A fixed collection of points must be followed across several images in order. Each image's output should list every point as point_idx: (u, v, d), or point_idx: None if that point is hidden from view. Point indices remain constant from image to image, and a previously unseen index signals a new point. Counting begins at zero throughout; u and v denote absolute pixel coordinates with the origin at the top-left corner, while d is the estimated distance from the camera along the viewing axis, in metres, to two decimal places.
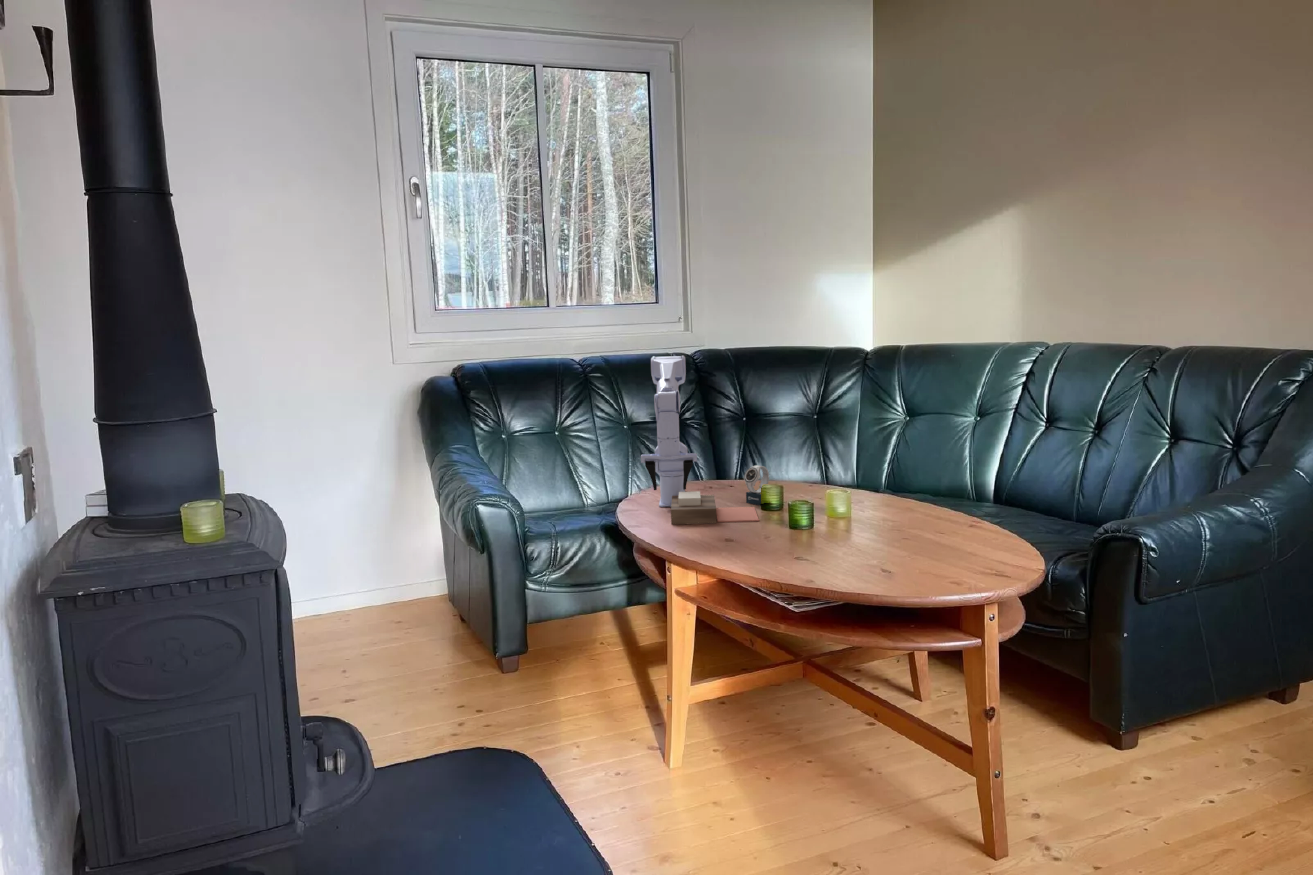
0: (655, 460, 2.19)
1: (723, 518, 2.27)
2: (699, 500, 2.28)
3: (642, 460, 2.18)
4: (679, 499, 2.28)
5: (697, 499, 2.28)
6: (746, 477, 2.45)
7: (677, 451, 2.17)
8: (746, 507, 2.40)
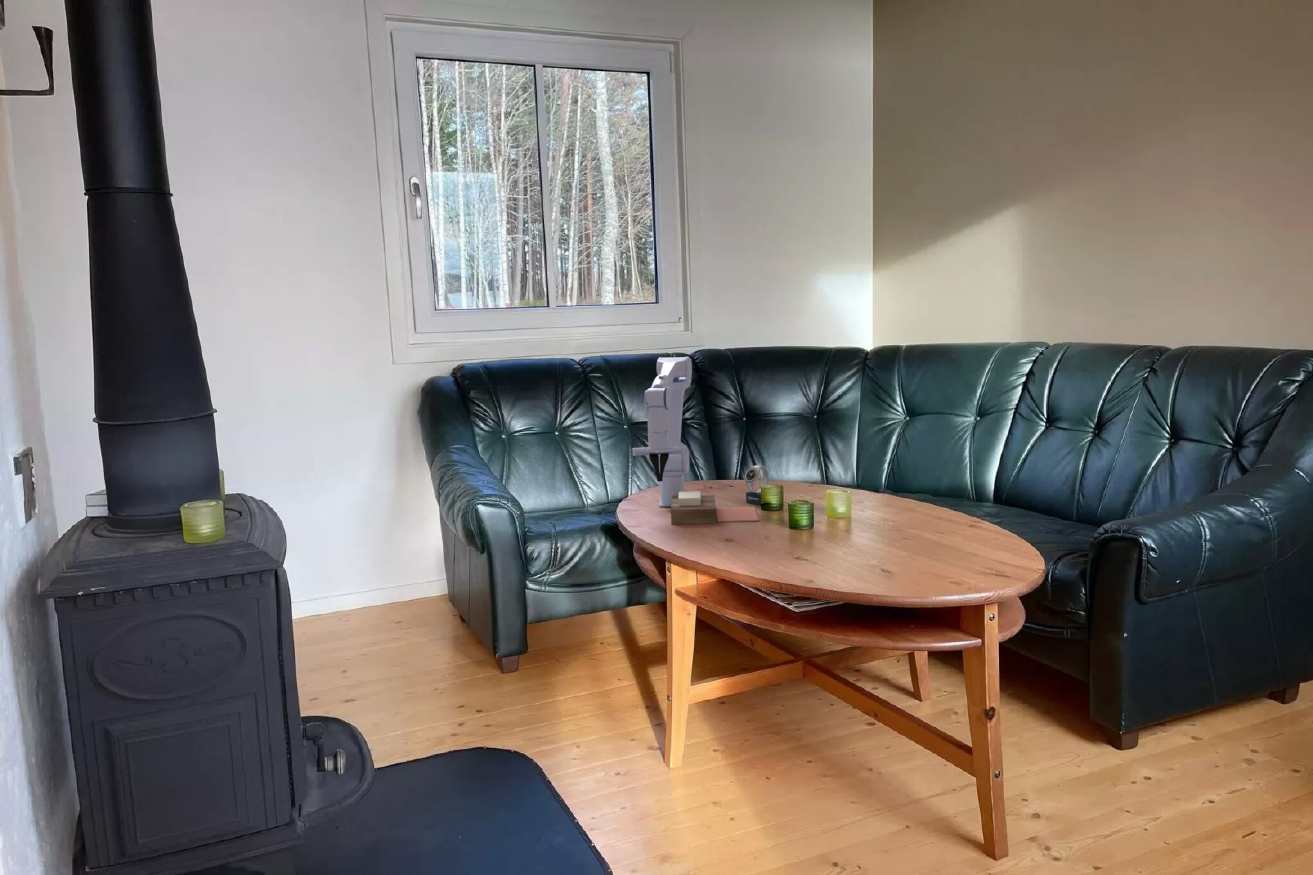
0: (646, 453, 2.31)
1: (723, 518, 2.27)
2: (699, 500, 2.28)
3: (633, 453, 2.30)
4: (679, 499, 2.28)
5: (697, 499, 2.28)
6: (746, 477, 2.45)
7: (667, 444, 2.29)
8: (746, 507, 2.40)
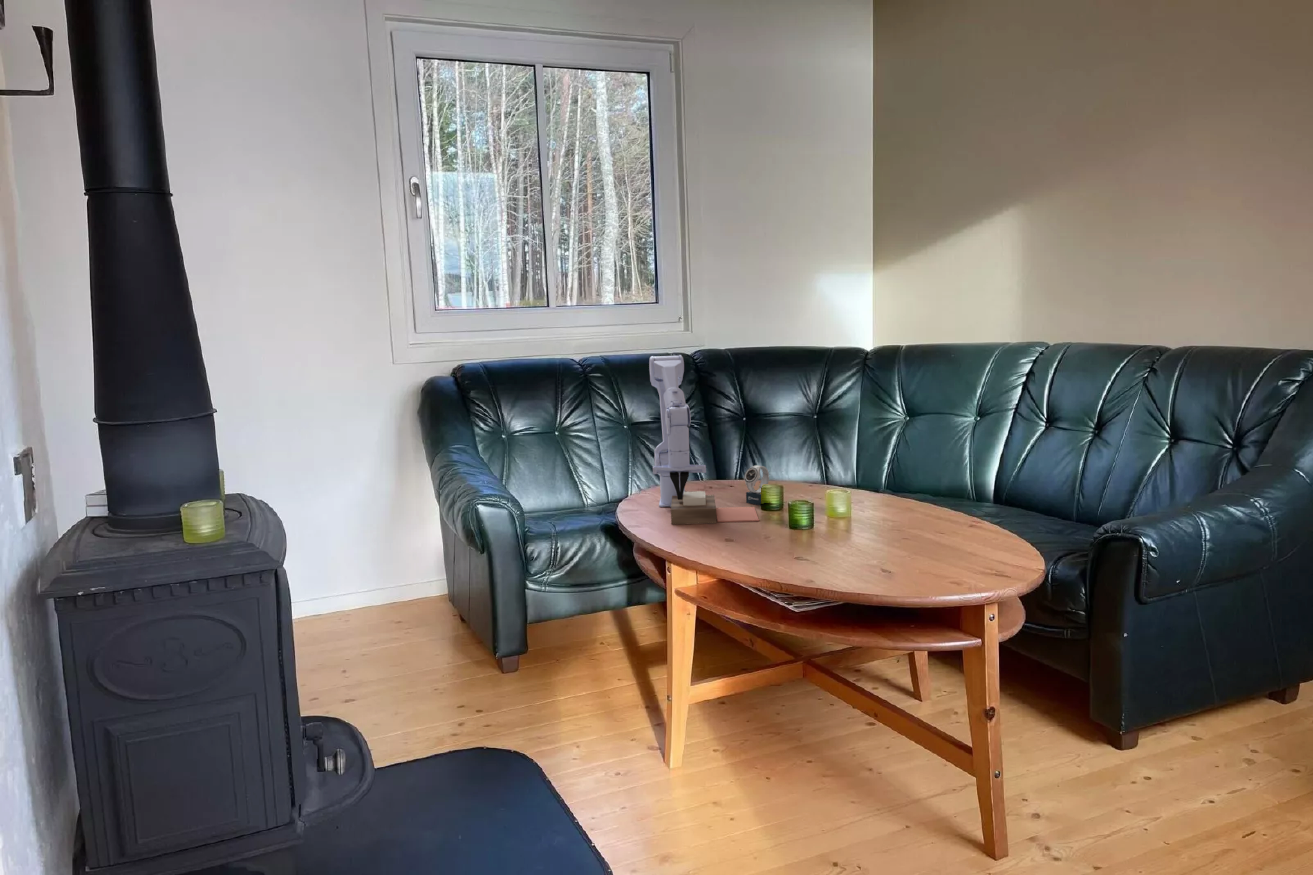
0: (666, 471, 2.31)
1: (723, 518, 2.27)
2: (704, 500, 2.27)
3: (654, 471, 2.31)
4: (684, 499, 2.28)
5: (702, 499, 2.27)
6: (746, 477, 2.45)
7: (687, 463, 2.29)
8: (746, 507, 2.40)
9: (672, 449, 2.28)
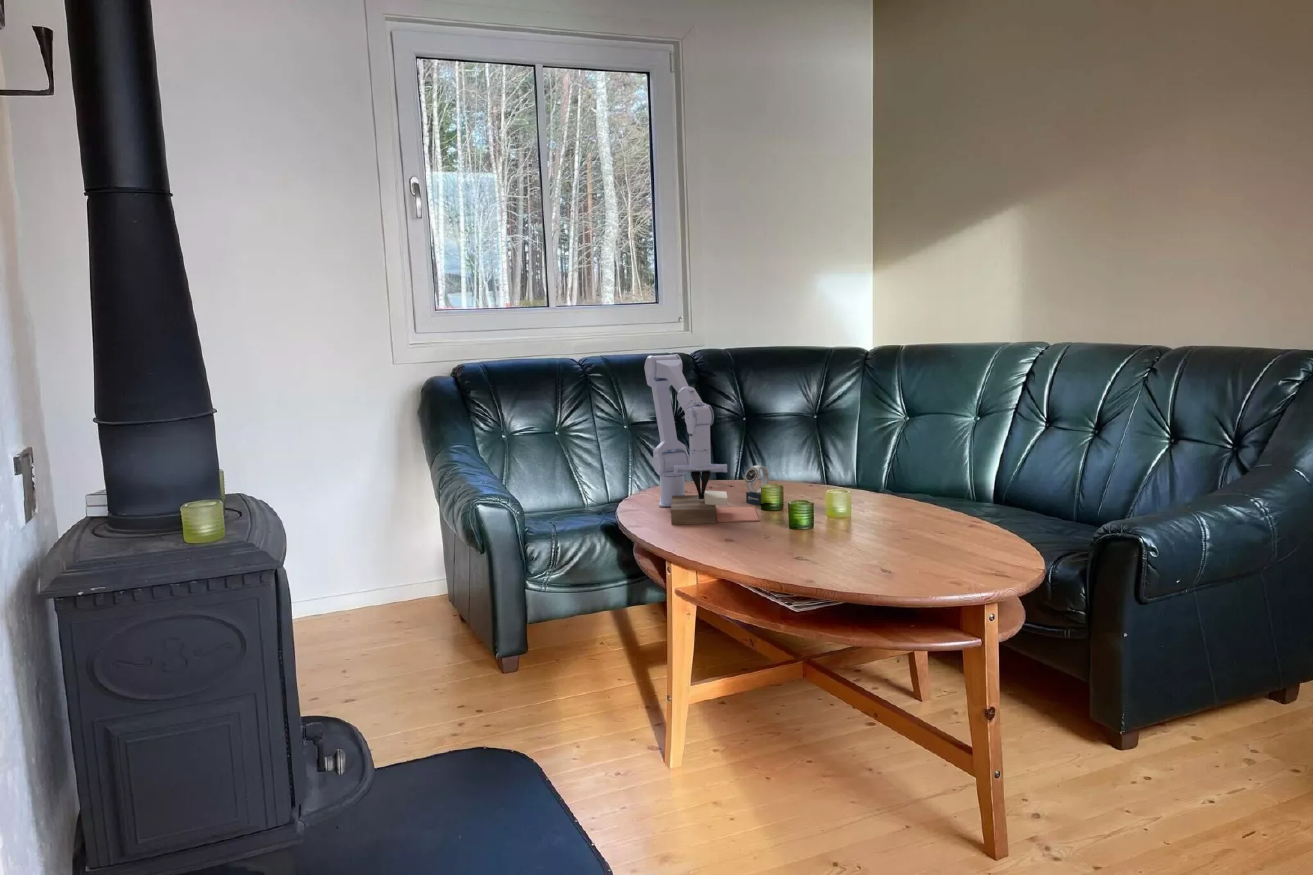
0: (687, 471, 2.31)
1: (723, 518, 2.27)
2: (726, 500, 2.27)
3: (675, 471, 2.30)
4: (706, 498, 2.27)
5: (724, 499, 2.27)
6: (746, 477, 2.45)
7: (708, 462, 2.29)
8: (746, 507, 2.40)
9: (697, 449, 2.28)
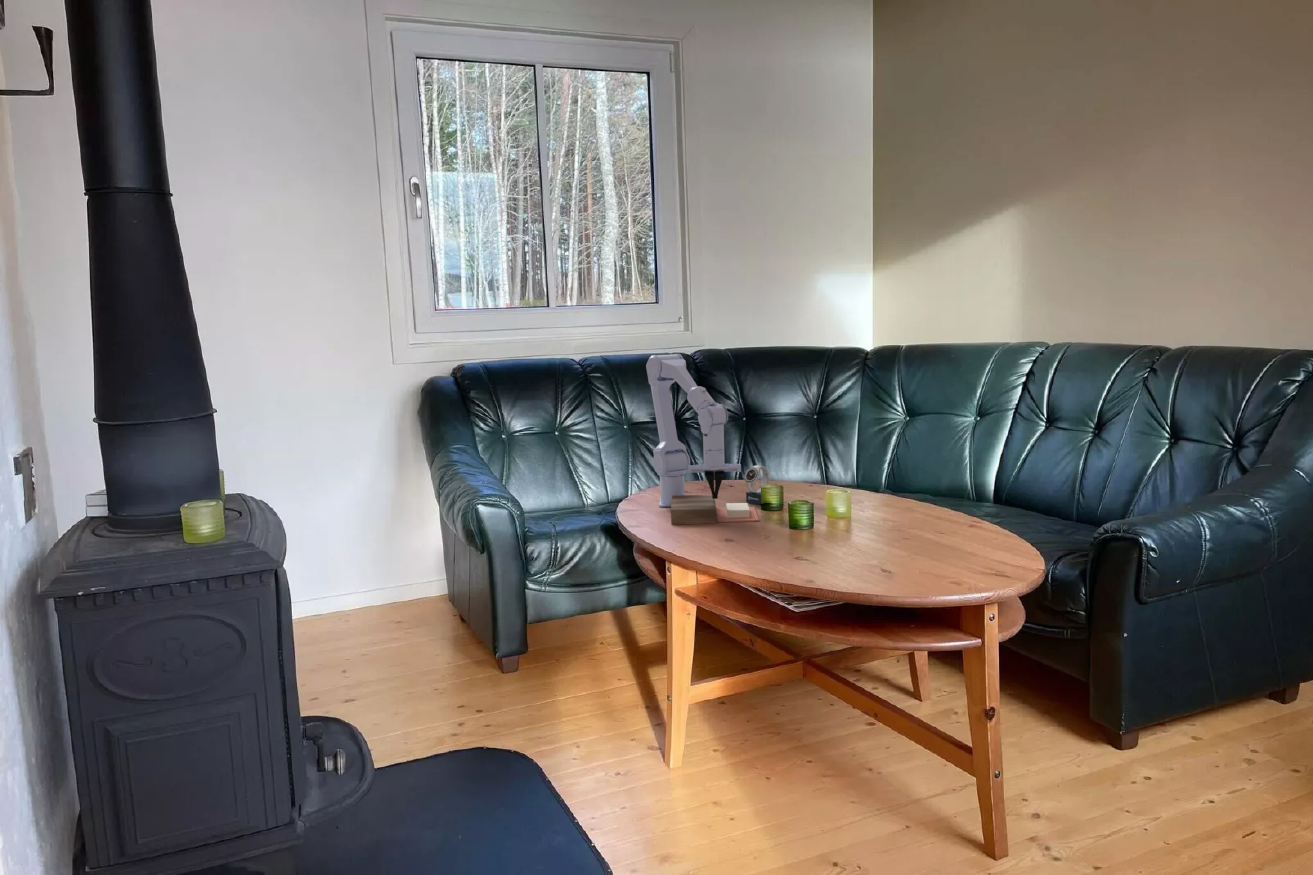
0: (701, 470, 2.31)
1: (723, 518, 2.27)
2: (728, 515, 2.28)
3: (689, 470, 2.30)
4: (748, 516, 2.28)
5: (730, 516, 2.28)
6: (746, 477, 2.45)
7: (722, 462, 2.29)
8: None
9: (712, 448, 2.27)
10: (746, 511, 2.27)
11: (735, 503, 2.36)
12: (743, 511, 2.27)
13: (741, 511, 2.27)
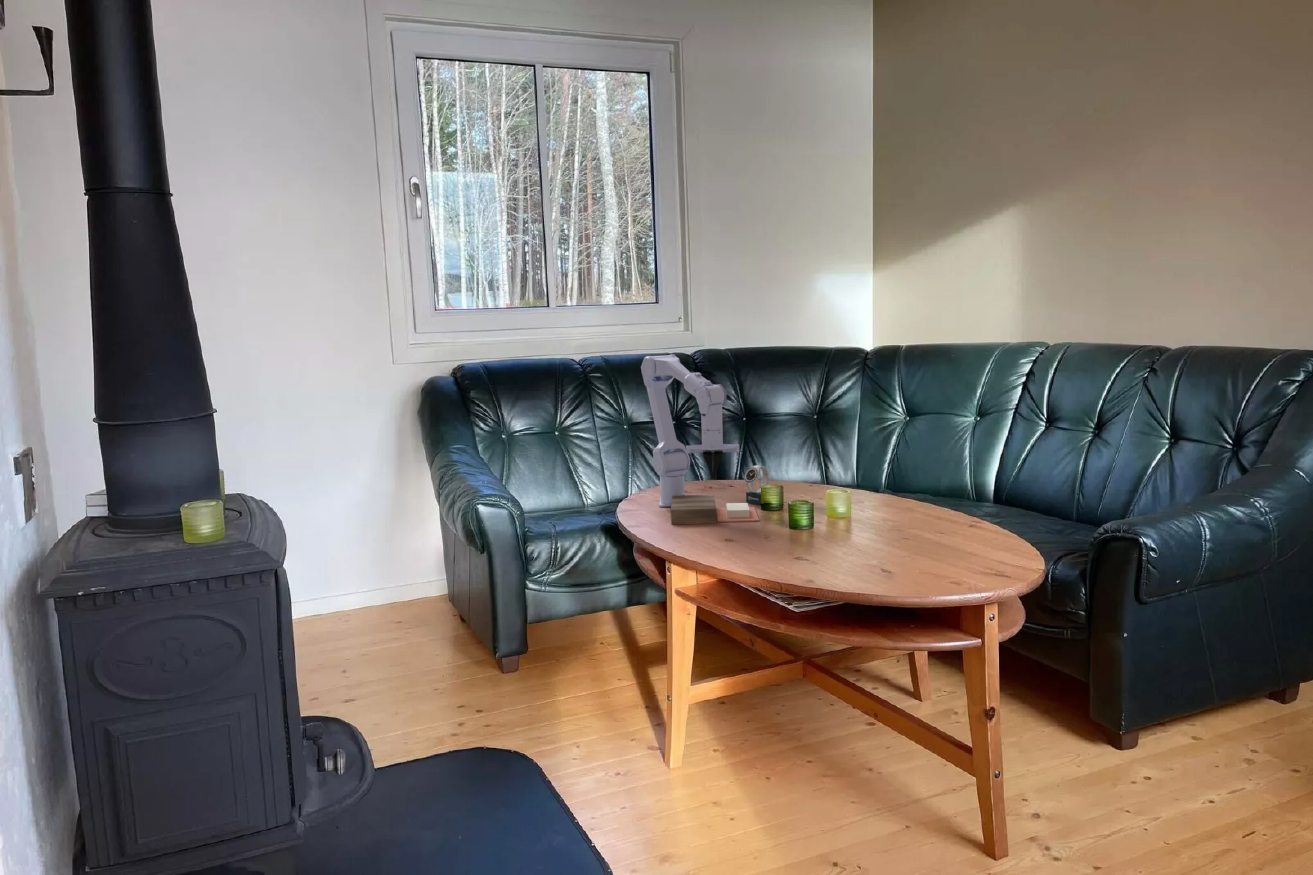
0: (699, 451, 2.30)
1: (723, 518, 2.27)
2: (728, 515, 2.28)
3: (687, 451, 2.29)
4: (748, 516, 2.28)
5: (730, 516, 2.28)
6: (746, 477, 2.45)
7: (720, 442, 2.28)
8: None
9: (710, 428, 2.27)
10: (746, 511, 2.27)
11: (735, 503, 2.36)
12: (743, 511, 2.27)
13: (741, 511, 2.27)
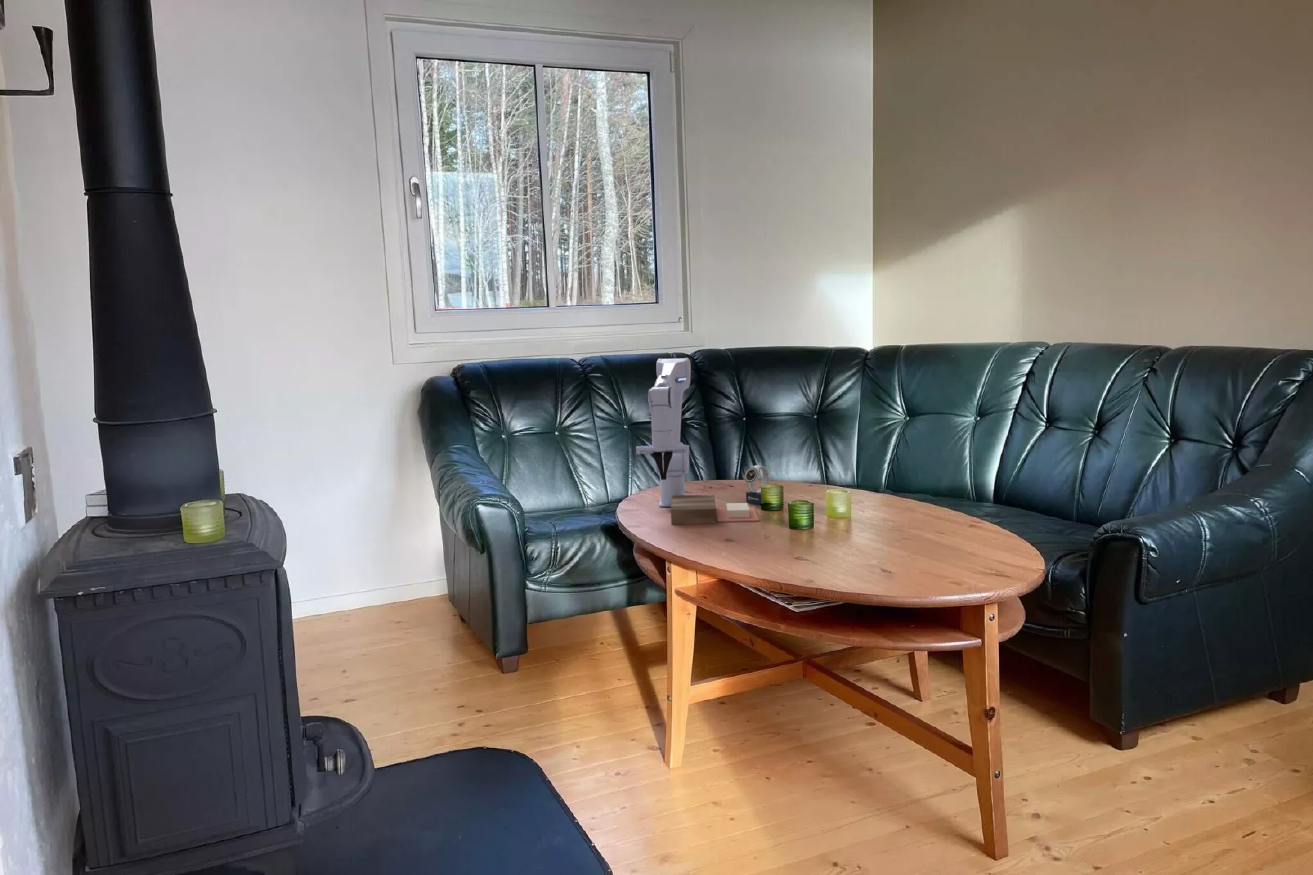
0: (649, 451, 2.31)
1: (723, 518, 2.27)
2: (728, 515, 2.28)
3: (637, 451, 2.31)
4: (748, 516, 2.28)
5: (730, 516, 2.28)
6: (746, 477, 2.45)
7: (670, 443, 2.30)
8: None
9: (653, 429, 2.29)
10: (746, 511, 2.27)
11: (735, 503, 2.36)
12: (743, 511, 2.27)
13: (741, 511, 2.27)
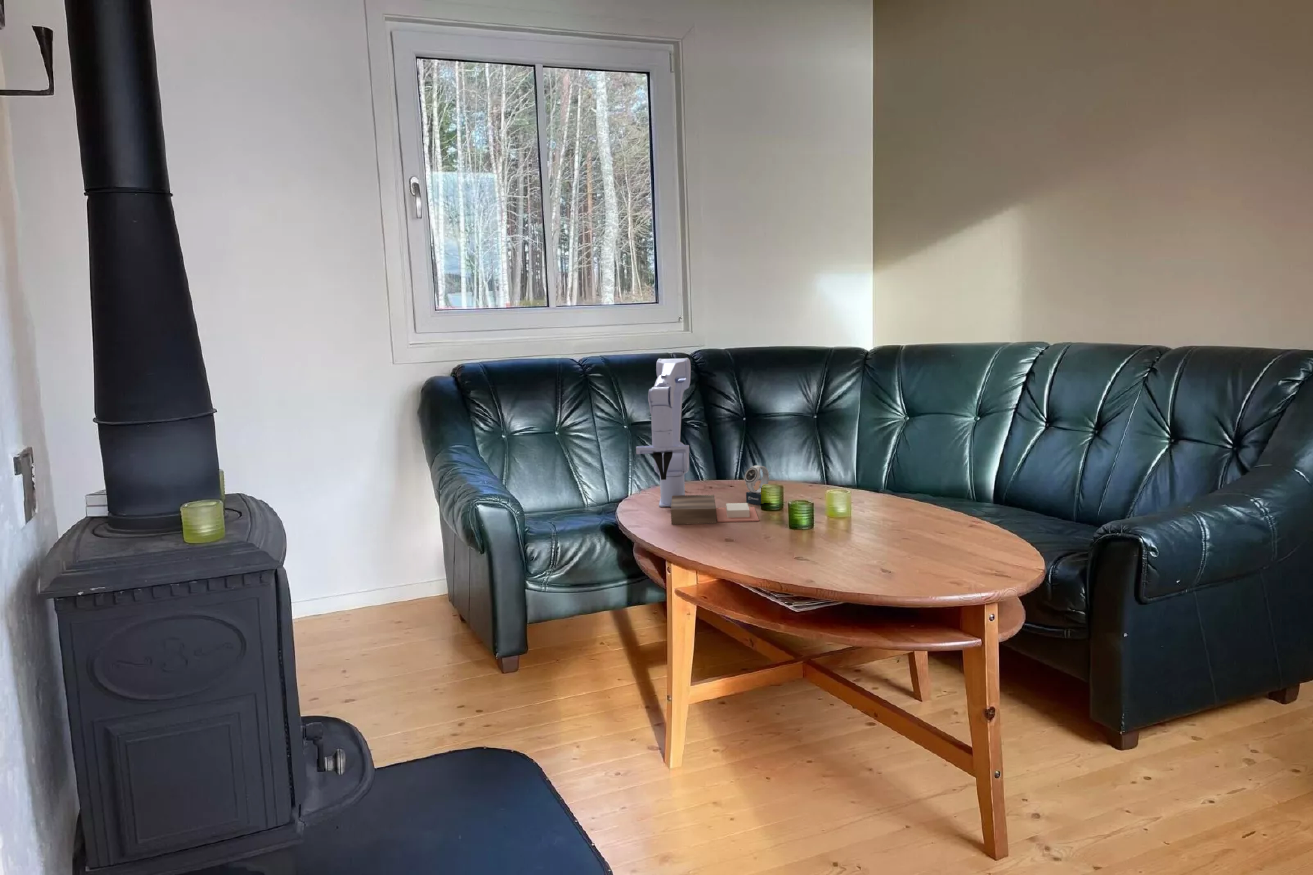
0: (649, 451, 2.31)
1: (723, 518, 2.27)
2: (728, 515, 2.28)
3: (637, 451, 2.31)
4: (748, 516, 2.28)
5: (730, 516, 2.28)
6: (746, 477, 2.45)
7: (670, 443, 2.30)
8: None
9: (653, 429, 2.29)
10: (746, 511, 2.27)
11: (735, 503, 2.36)
12: (743, 511, 2.27)
13: (741, 511, 2.27)
